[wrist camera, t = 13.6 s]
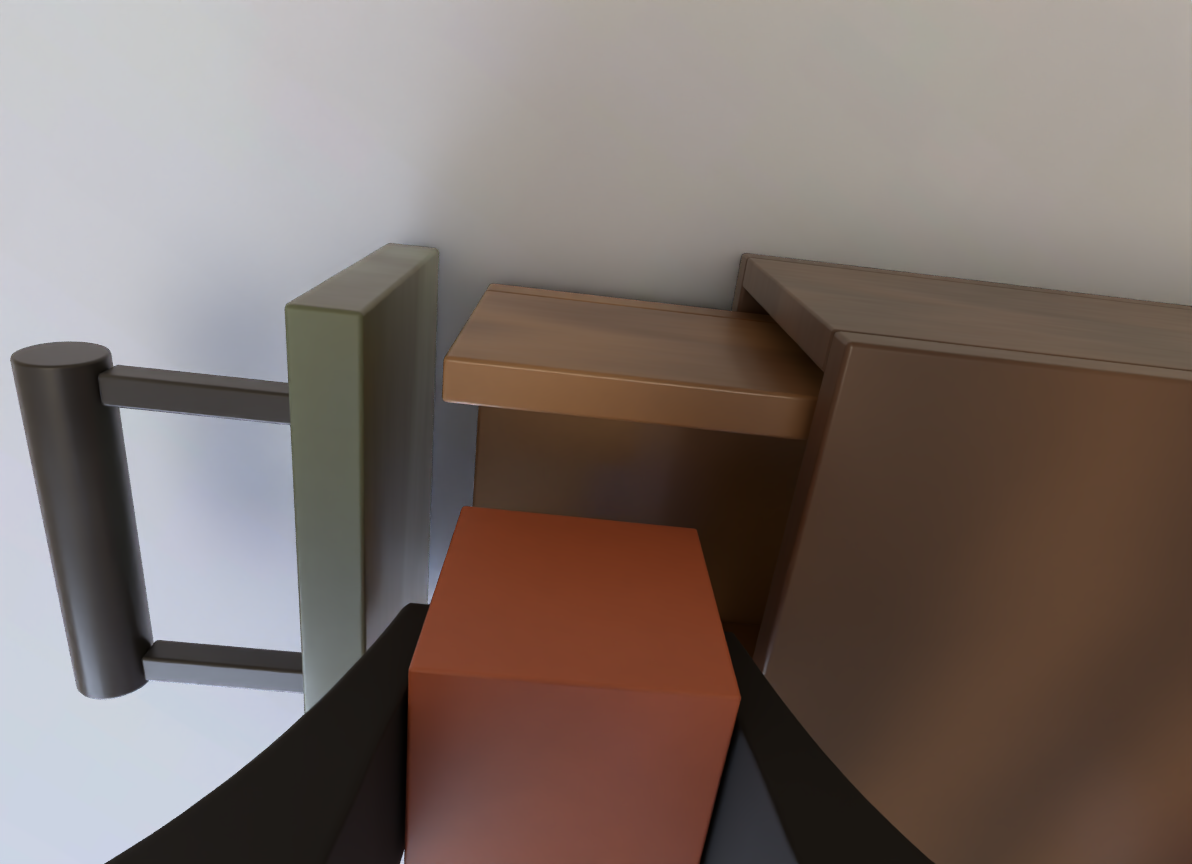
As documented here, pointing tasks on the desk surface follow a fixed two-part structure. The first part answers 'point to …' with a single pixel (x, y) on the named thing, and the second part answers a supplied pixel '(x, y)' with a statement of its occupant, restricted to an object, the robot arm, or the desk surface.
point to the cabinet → (990, 560)
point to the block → (567, 696)
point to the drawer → (427, 454)
